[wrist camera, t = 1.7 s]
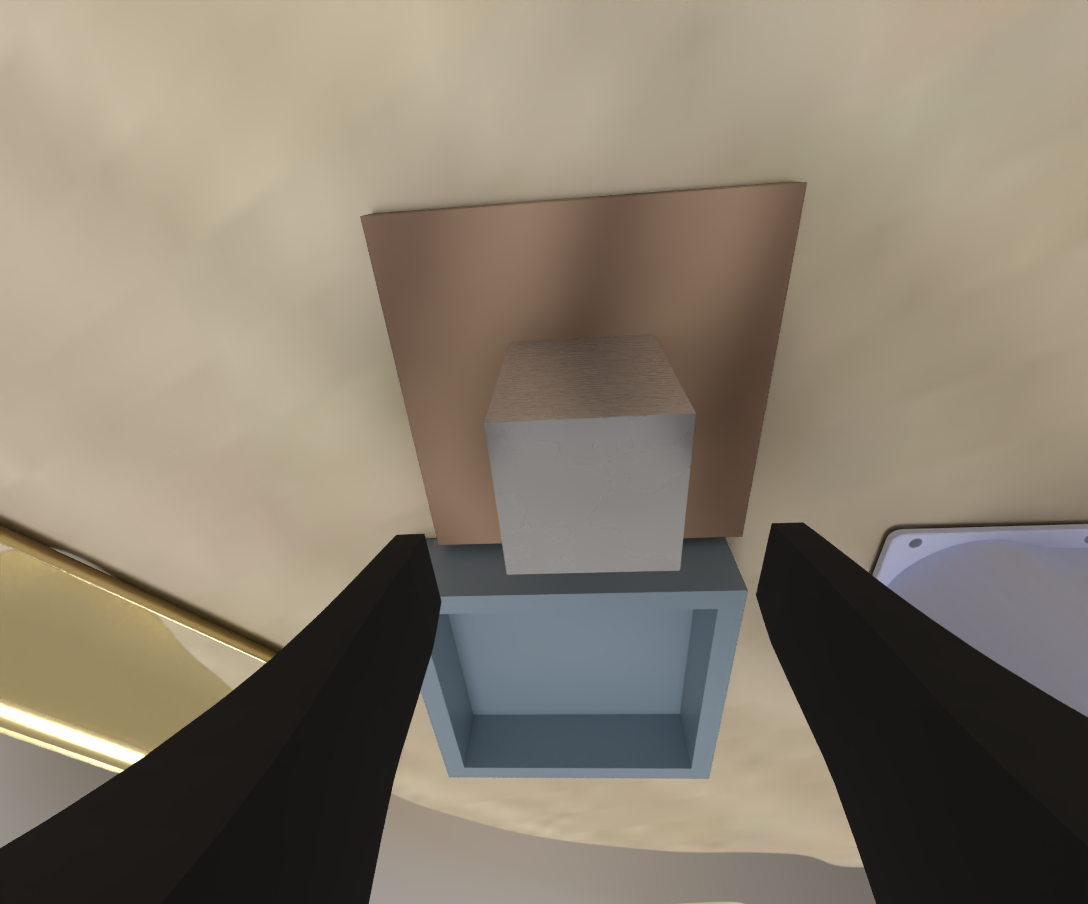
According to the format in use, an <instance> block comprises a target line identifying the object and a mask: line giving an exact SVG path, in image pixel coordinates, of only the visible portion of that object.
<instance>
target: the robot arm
mask: <svg viewBox="0 0 1088 904" xmlns="http://www.w3.org/2000/svg"><path fill="white" fill-rule="evenodd" d="M756 597H757V600H758V603H759V607H760V610H761V613H762V617H763V620H764V623H765V626H766V629H767V632H768V635H769V638H770V641H771V644H772V646H773V648H774V650H775V653H776V655H777V657H778V659H779V662H780V664H781V666H782V668H783V670H784V673H785V675H786V677H787V679H788V681H789V683H790V686H791V688H792V690H793V692H794V694H795V696H796V699H797V701H798V703H799V705H800V707H801V709H802V712H803V714H804V716H805V718H806V720H807V722H808V725H809V727H810V729H811V731H812V733H813V735H814V737H815V740H816V742H817V744H818V746H819V748H820V750H821V753H822V755H823V757H824V759H825V762H826V764H827V767H828V769H829V771H830V774H831V776H832V779H833V781H834V783H835V786H836V789H837V792H838V794H839V797H840V800H841V803H842V806H843V808H844V811H845V814H846V817H847V820H848V822H849V825H850V828H851V831H852V833H853V836H854V839H855V842H856V845H857V848H858V851H859V854H860V857H861V860H862V862H863V865H864V868H865V871H866V874H867V877H868V880H869V883H870V886H871V889H872V892H873V895H874V898H875V900H876V904H1088V524H1069V525H1034V526H999V527H964V528H928V529H900V530H896V531H893V532H892V533H890V534H889V535H888V537H887V538H886V541H885V544H884V546H883V549H882V551H881V554H880V557H879V559H878V562H877V564H876V567H875V570H874V572H873V575H871V574H870V573H868V572H867V571H866V570H864V569H863V568H862V567H861V566H859V565H858V564H857V563H855V562H854V561H853V560H852V559H850V558H849V557H848V556H846V555H845V554H844V553H842V552H841V551H840V550H839V549H837V548H836V547H835V546H833V545H832V544H831V543H830V542H828V541H827V540H826V539H824V538H823V537H822V536H821V535H819V534H818V533H817V532H815V531H814V530H813V529H811V528H810V527H808V526H807V525H806V524H804V523H772V525H771V529H770V534H769V538H768V543H767V547H766V552H765V557H764V561H763V566H762V570H761V575H760V579H759V584H758V588H757V593H756ZM441 602H442V601H441V597H440V593H439V589H438V585H437V581H436V577H435V573H434V569H433V566H432V562H431V558H430V554H429V550H428V546H427V542H426V538H425V534H407V535H396V536H395V537H394V538H393V539H392V540H391V541H390V542H389V543H388V544H387V545H386V546H385V547H384V548H383V549H382V550H381V551H380V553H379V554H378V555H377V556H376V557H375V558H374V559H373V560H372V561H371V562H370V563H369V564H368V565H367V566H366V567H365V568H364V569H363V570H362V571H361V572H360V573H359V575H358V576H357V577H356V578H355V579H354V580H353V581H352V582H351V583H350V584H349V585H348V586H347V587H346V588H345V589H344V590H343V591H342V592H341V593H340V594H339V595H338V596H337V597H336V598H335V599H334V600H333V601H332V602H331V603H330V604H329V605H328V606H327V607H326V608H325V609H324V610H323V611H322V612H321V613H320V614H319V615H318V616H317V617H316V618H315V619H314V620H313V621H312V622H311V623H309V624H308V625H307V626H306V627H305V628H304V629H303V630H302V631H301V632H300V633H299V634H298V635H297V636H296V637H295V638H293V639H292V640H291V641H290V642H289V643H288V644H287V645H286V646H285V647H284V648H283V649H282V650H281V651H279V652H278V653H277V654H276V655H275V656H274V657H273V658H271V659H270V660H269V661H268V662H267V663H266V664H264V665H263V666H262V667H261V668H260V669H259V670H257V671H256V672H255V673H254V674H253V675H251V676H250V677H249V678H248V679H247V680H245V681H244V682H243V683H242V684H240V685H239V686H238V687H237V688H235V689H234V690H233V691H232V692H231V693H229V694H228V695H227V696H226V697H224V698H223V699H222V700H220V701H219V702H218V703H217V704H215V705H214V706H213V707H211V708H210V709H209V710H207V711H206V712H205V713H203V714H202V715H200V716H199V717H198V718H196V719H195V720H194V721H192V722H191V723H190V724H188V725H187V726H185V727H184V728H183V729H181V730H180V731H179V732H177V733H176V734H175V735H173V736H172V737H170V738H169V739H168V740H166V741H165V742H164V743H162V744H161V745H160V746H158V747H157V748H155V749H154V750H153V751H151V752H150V753H148V754H147V755H146V756H144V757H143V758H141V759H140V760H138V761H137V762H135V763H134V764H132V765H131V766H129V767H128V768H126V769H125V770H123V771H122V772H121V773H119V774H118V775H116V776H115V777H113V778H112V779H110V780H109V781H107V782H106V783H104V784H103V785H101V786H100V787H98V788H96V789H95V790H93V791H92V792H90V793H89V794H87V795H86V796H84V797H83V798H81V799H80V800H78V801H76V802H75V803H73V804H72V805H70V806H69V807H67V808H66V809H64V810H62V811H61V812H59V813H58V814H56V815H54V816H53V817H51V818H50V819H48V820H46V821H45V822H43V823H42V824H40V825H38V826H37V827H35V828H33V829H32V830H30V831H29V832H27V833H25V834H23V835H22V836H20V837H18V838H17V839H15V840H13V841H12V842H10V843H8V844H7V845H5V846H3V847H2V848H0V904H369V899H370V894H371V889H372V884H373V878H374V874H375V868H376V863H377V858H378V853H379V848H380V843H381V838H382V833H383V828H384V824H385V819H386V814H387V810H388V804H389V800H390V796H391V791H392V786H393V782H394V778H395V774H396V770H397V767H398V763H399V759H400V755H401V752H402V749H403V746H404V742H405V739H406V736H407V733H408V729H409V726H410V723H411V720H412V717H413V713H414V710H415V707H416V704H417V700H418V697H419V694H420V691H421V687H422V684H423V681H424V677H425V674H426V671H427V668H428V664H429V661H430V658H431V654H432V651H433V647H434V642H435V637H436V632H437V626H438V620H439V614H440V608H441Z"/></svg>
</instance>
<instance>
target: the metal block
mask: <svg viewBox="0 0 1088 904" xmlns="http://www.w3.org/2000/svg"><path fill="white" fill-rule="evenodd" d="M695 418H696V412H695V411H694V409H693V407H692V405H691V403H690V401H689V399H688V398H687V396H686V394H685V392H684V390H683V388H682V386H681V384H680V383H679V381H678V379H677V377H676V375H675V373H674V371H673V369H672V368H671V366H670V364H669V362H668V360H667V358H666V356H665V355H664V353H663V351H662V349H661V347H660V345H659V343H658V341H657V340H656V338H655V336H654V334H638V335H621V336H603V337H585V338H568V339H550V340H532V341H515V342H510V343H509V346H508V349H507V352H506V355H505V359H504V362H503V365H502V368H501V371H500V374H499V378H498V381H497V384H496V387H495V390H494V393H493V397H492V400H491V403H490V406H489V409H488V412H487V416H486V419H485V422H484V425H485V432H486V439H487V445H488V452H489V459H490V465H491V472H492V479H493V486H494V492H495V499H496V506H497V512H498V519H499V526H500V533H501V539H502V546H503V553H504V559H505V566H506V573H507V575H511V574H553V573H596V572H638V571H680V565H681V555H682V545H683V535H684V526H685V516H686V506H687V496H688V487H689V477H690V467H691V457H692V447H693V438H694V428H695Z"/></svg>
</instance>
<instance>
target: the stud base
mask: <svg viewBox="0 0 1088 904" xmlns="http://www.w3.org/2000/svg"><path fill="white" fill-rule="evenodd" d="M806 185H807V182H781V183H768V184H755V185H742V186H729V187H716V188H702V189H689V190H676V191H663V192H650V193H637V194H624V195H610V196H597V197H584V198H571V199H558V200H545V201H532V202H519V203H505V204H492V205H479V206H466V207H453V208H440V209H427V210H414V211H400V212H387V213H374V214H368V215H364V216H360V217H361V222H362V226H363V230H364V234H365V238H366V243H367V247H368V251H369V255H370V259H371V264H372V268H373V272H374V276H375V280H376V285H377V289H378V293H379V297H380V301H381V306H382V310H383V314H384V318H385V322H386V327H387V331H388V335H389V339H390V343H391V348H392V352H393V356H394V360H395V364H396V369H397V373H398V377H399V381H400V386H401V390H402V394H403V398H404V402H405V407H406V411H407V415H408V419H409V423H410V428H411V432H412V436H413V440H414V444H415V449H416V453H417V457H418V461H419V465H420V470H421V474H422V478H423V482H424V486H425V491H426V495H427V499H428V503H429V507H430V512H431V516H432V520H433V524H434V528H435V533H436V537H437V541H438V545H457V544H493V543H502V539H501V533H500V526H499V519H498V512H497V506H496V499H495V492H494V486H493V479H492V472H491V465H490V459H489V452H488V445H487V439H486V432H485V425H484V422H485V419H486V416H487V412H488V409H489V406H490V403H491V400H492V397H493V393H494V390H495V387H496V384H497V381H498V378H499V374H500V371H501V368H502V365H503V362H504V359H505V355H506V352H507V349H508V346H509V343H510V342H515V341H532V340H550V339H568V338H585V337H603V336H621V335H638V334H654V336H655V338H656V340H657V341H658V343H659V345H660V347H661V349H662V351H663V353H664V355H665V356H666V358H667V360H668V362H669V364H670V366H671V368H672V369H673V371H674V373H675V375H676V377H677V379H678V381H679V383H680V384H681V386H682V388H683V390H684V392H685V394H686V396H687V398H688V399H689V401H690V403H691V405H692V407H693V409H694V411H695V412H696V418H695V428H694V438H693V447H692V457H691V467H690V477H689V487H688V496H687V506H686V516H685V526H684V535H683V538H707V537H742V535H743V529H744V524H745V518H746V513H747V507H748V502H749V496H750V491H751V486H752V480H753V475H754V469H755V464H756V458H757V453H758V447H759V442H760V436H761V431H762V425H763V420H764V415H765V409H766V404H767V398H768V393H769V387H770V382H771V376H772V371H773V365H774V360H775V354H776V349H777V344H778V338H779V333H780V327H781V322H782V316H783V311H784V305H785V300H786V294H787V289H788V283H789V278H790V273H791V267H792V262H793V256H794V251H795V245H796V240H797V234H798V229H799V223H800V218H801V212H802V207H803V202H804V196H805V191H806Z"/></svg>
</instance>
